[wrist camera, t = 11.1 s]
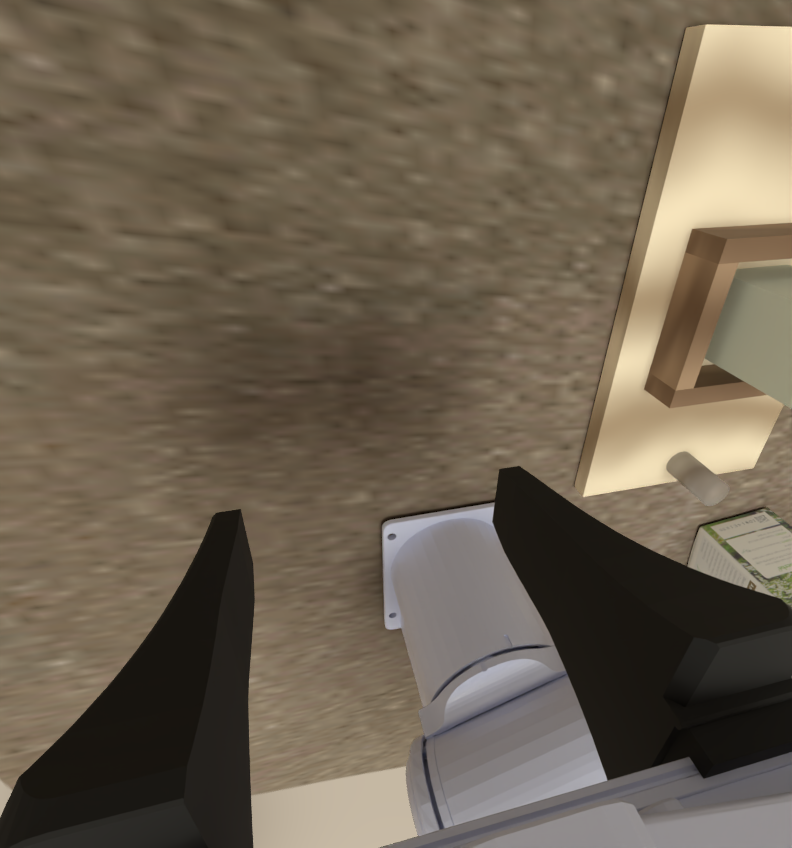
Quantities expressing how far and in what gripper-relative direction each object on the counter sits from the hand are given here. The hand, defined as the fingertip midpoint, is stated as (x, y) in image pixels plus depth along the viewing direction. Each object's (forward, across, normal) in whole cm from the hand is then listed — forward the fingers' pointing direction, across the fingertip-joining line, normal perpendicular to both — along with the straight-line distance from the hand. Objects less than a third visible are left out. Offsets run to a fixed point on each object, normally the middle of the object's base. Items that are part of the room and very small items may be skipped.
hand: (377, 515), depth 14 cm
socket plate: (+10, -20, -1) cm, 23 cm away
